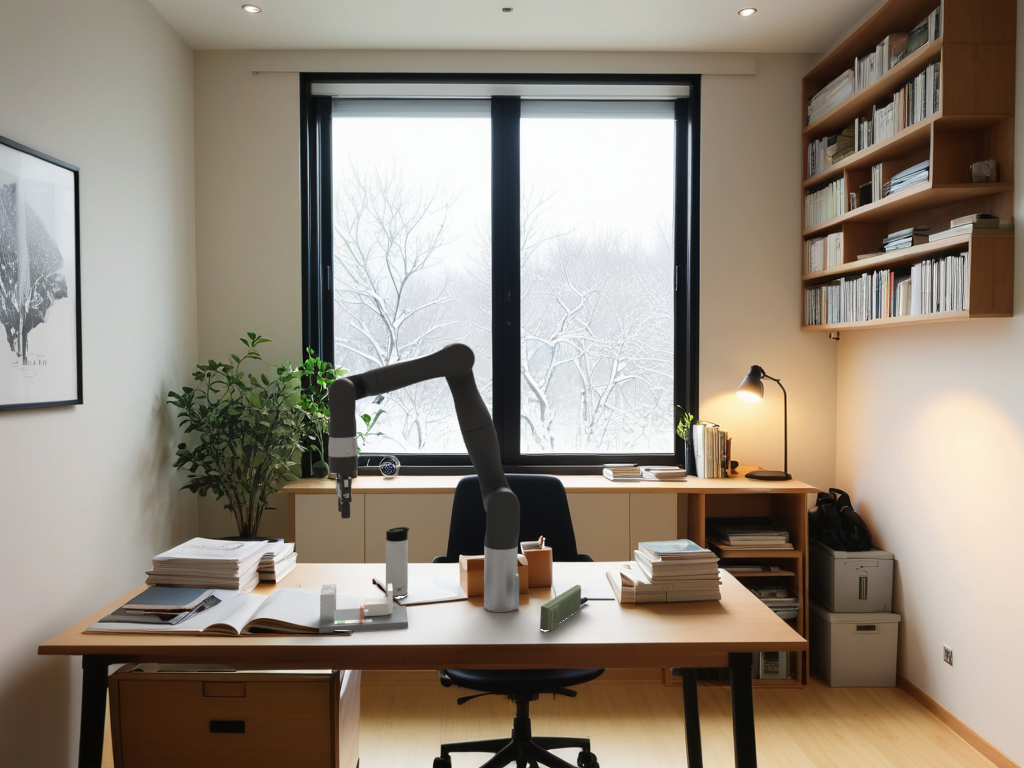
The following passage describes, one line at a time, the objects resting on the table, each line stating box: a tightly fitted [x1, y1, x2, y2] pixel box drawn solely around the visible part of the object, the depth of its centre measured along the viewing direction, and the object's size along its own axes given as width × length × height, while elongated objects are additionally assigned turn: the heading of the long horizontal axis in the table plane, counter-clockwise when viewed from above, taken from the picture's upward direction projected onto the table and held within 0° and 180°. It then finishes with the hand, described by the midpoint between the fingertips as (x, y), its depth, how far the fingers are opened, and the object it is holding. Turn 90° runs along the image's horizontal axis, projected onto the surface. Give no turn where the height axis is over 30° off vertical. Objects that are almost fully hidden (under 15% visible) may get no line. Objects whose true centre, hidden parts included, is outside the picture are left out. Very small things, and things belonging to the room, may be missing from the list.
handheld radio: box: [539, 584, 589, 631], centre depth 188 cm, size 7×3×25 cm
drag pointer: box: [359, 605, 364, 623], centre depth 179 cm, size 1×4×3 cm, turn 11°
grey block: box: [319, 584, 337, 623], centre depth 182 cm, size 4×8×7 cm, turn 11°
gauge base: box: [318, 605, 409, 634], centre depth 183 cm, size 22×12×2 cm, turn 101°
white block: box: [363, 584, 394, 616], centre depth 184 cm, size 7×8×6 cm
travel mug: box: [385, 526, 410, 600], centre depth 203 cm, size 6×7×20 cm
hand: (344, 514), depth 185 cm, fingers open, 8 cm apart
